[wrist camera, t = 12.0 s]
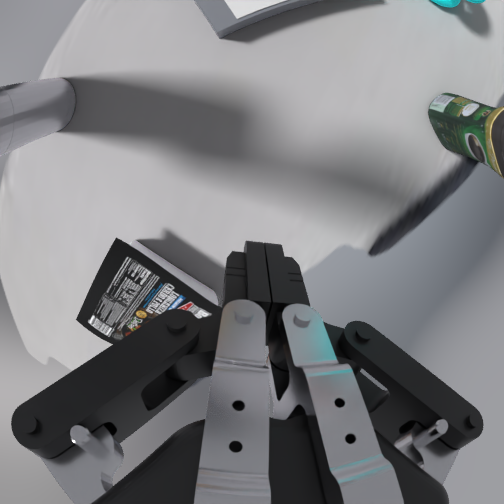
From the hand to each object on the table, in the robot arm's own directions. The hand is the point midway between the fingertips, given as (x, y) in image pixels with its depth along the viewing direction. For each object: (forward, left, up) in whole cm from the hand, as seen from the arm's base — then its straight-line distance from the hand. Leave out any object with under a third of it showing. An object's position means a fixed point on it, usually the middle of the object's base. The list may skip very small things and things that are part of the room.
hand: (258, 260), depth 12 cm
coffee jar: (+31, +12, -29) cm, 44 cm away
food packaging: (-15, -31, -29) cm, 45 cm away
